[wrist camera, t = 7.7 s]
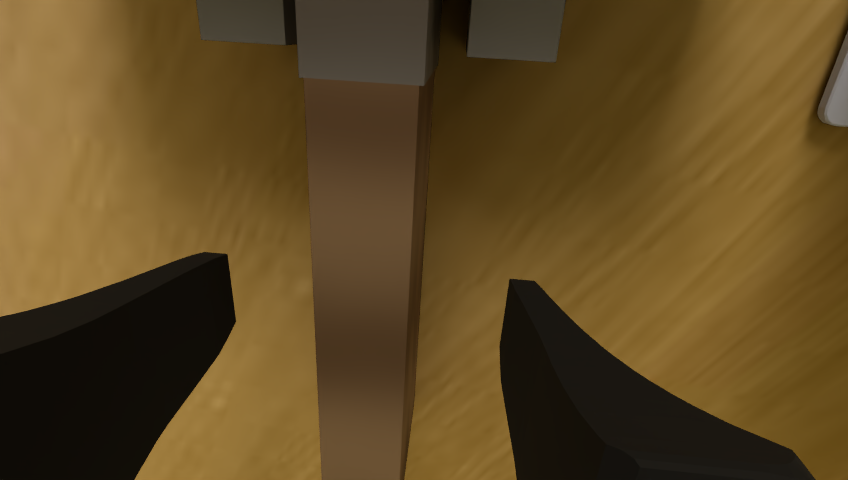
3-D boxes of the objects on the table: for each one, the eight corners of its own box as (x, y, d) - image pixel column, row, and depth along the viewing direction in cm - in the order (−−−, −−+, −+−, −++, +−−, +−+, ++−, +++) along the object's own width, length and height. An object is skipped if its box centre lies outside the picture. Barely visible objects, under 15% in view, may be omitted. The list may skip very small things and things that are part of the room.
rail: (416, 403, 21) (399, 535, 16) (357, 397, 21) (320, 526, 16) (444, -45, 14) (433, -90, 9) (357, -49, 14) (290, -97, 9)
